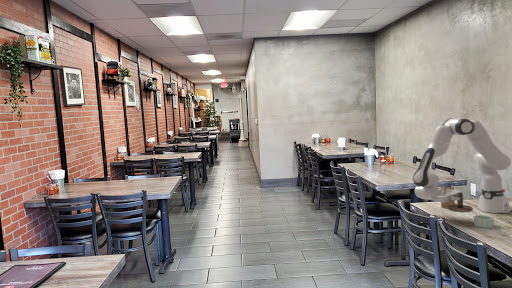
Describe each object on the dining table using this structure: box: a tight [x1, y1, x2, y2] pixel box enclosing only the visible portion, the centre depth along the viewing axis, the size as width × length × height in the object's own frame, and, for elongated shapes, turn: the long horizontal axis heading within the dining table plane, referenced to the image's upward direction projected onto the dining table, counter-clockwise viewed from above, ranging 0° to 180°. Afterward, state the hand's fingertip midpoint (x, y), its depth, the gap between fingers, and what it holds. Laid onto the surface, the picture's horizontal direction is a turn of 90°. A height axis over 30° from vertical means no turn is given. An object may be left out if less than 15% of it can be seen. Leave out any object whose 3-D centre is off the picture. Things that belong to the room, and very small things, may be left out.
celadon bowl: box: [473, 214, 495, 229], centre depth 208 cm, size 10×10×4 cm
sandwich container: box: [440, 186, 456, 209], centre depth 254 cm, size 9×15×15 cm, turn 151°
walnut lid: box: [447, 192, 474, 213], centre depth 216 cm, size 13×13×10 cm
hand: (461, 198), depth 215 cm, fingers closed on walnut lid, 3 cm apart
